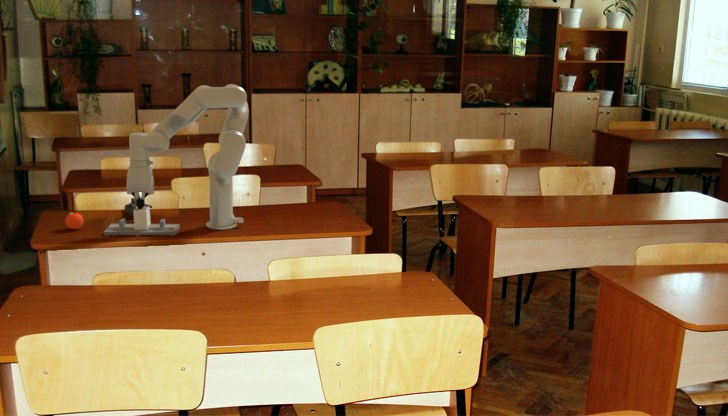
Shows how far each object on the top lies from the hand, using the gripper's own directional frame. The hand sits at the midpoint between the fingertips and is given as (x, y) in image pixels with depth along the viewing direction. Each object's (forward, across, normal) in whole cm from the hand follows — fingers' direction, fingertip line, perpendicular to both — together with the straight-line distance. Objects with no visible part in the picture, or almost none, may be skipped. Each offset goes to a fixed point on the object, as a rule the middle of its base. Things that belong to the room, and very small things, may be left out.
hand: (140, 208), depth 304 cm
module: (+8, -1, 0) cm, 8 cm away
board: (+10, -1, 0) cm, 10 cm away
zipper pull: (+10, +6, -28) cm, 31 cm away
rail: (+8, -1, 0) cm, 8 cm away
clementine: (+10, +27, -3) cm, 29 cm away
